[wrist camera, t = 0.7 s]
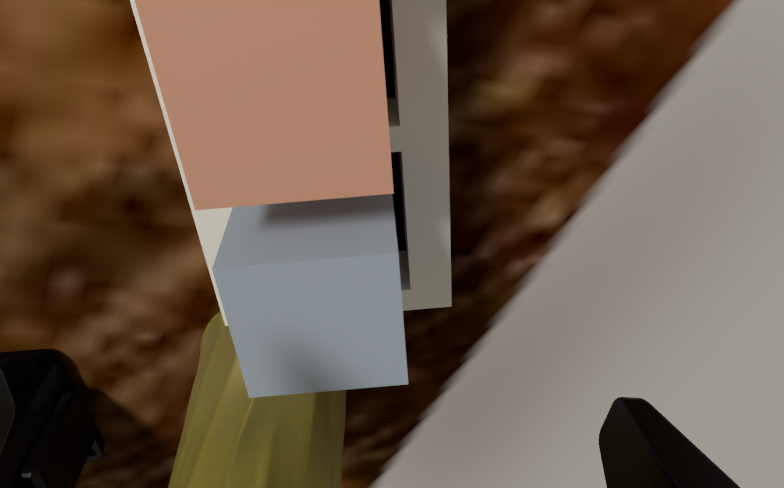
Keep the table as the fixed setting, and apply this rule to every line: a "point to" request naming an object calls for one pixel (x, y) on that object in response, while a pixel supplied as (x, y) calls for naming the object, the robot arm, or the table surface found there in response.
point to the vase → (255, 429)
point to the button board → (407, 136)
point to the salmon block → (273, 97)
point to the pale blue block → (314, 295)
